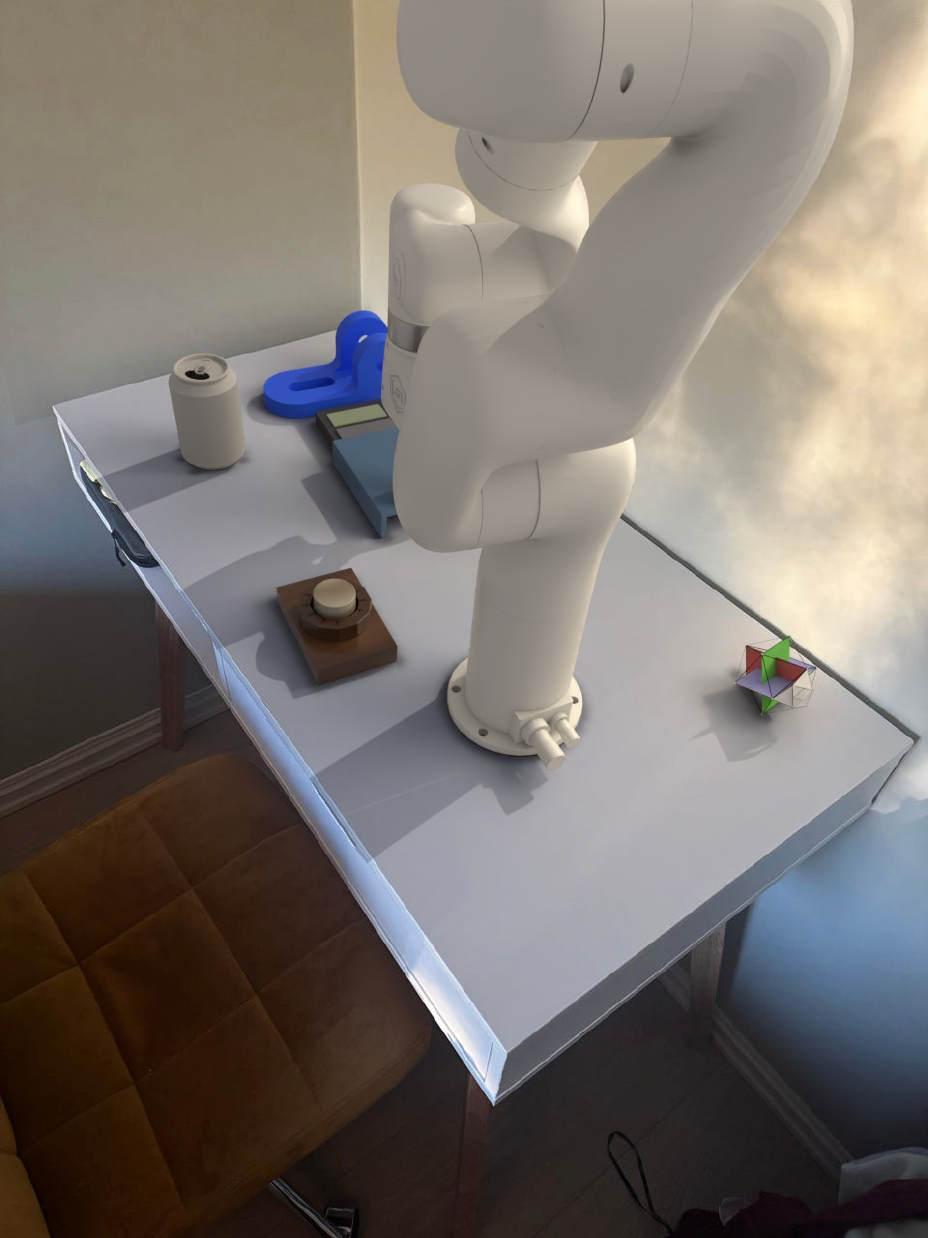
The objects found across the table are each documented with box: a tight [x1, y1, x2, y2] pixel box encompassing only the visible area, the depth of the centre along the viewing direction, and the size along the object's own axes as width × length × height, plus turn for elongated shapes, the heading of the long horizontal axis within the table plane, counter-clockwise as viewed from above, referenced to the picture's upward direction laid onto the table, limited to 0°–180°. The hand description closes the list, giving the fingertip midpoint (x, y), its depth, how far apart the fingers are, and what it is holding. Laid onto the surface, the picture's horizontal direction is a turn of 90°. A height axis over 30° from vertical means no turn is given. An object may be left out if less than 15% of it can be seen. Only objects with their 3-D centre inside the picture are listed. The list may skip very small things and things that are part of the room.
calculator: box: [314, 399, 397, 451], centre depth 111 cm, size 14×9×2 cm, turn 26°
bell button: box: [313, 579, 356, 620], centre depth 87 cm, size 4×4×2 cm
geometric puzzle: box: [733, 634, 818, 716], centre depth 85 cm, size 7×7×8 cm
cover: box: [332, 427, 400, 539], centre depth 104 cm, size 15×11×5 cm
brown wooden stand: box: [275, 567, 398, 686], centre depth 88 cm, size 12×8×4 cm, turn 26°
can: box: [168, 352, 246, 471], centre depth 105 cm, size 8×8×12 cm
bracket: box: [262, 309, 387, 420], centre depth 117 cm, size 18×8×9 cm, turn 115°
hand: (418, 477), depth 100 cm, fingers closed
